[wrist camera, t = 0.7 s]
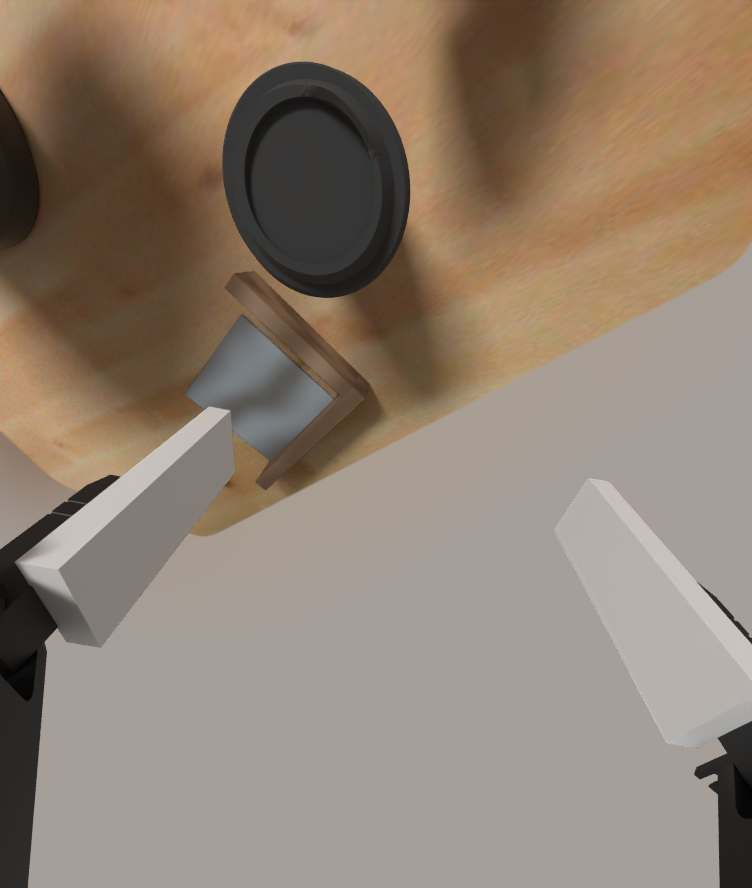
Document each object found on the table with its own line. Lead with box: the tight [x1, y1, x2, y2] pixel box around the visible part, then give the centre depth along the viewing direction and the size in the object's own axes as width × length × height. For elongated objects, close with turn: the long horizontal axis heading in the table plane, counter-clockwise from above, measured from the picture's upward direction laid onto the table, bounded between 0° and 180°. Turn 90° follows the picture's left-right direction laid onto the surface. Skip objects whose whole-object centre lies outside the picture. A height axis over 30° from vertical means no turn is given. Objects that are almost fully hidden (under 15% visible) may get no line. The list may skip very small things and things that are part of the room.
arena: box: [185, 271, 369, 490], centre depth 33 cm, size 15×17×4 cm
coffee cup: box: [222, 62, 410, 298], centre depth 20 cm, size 9×9×15 cm
